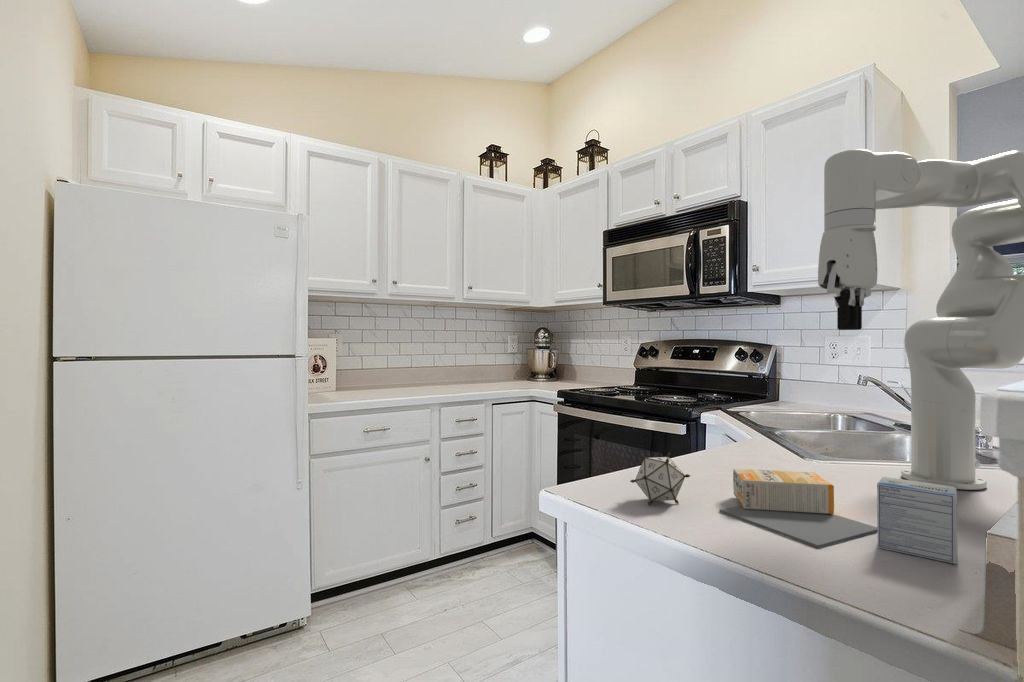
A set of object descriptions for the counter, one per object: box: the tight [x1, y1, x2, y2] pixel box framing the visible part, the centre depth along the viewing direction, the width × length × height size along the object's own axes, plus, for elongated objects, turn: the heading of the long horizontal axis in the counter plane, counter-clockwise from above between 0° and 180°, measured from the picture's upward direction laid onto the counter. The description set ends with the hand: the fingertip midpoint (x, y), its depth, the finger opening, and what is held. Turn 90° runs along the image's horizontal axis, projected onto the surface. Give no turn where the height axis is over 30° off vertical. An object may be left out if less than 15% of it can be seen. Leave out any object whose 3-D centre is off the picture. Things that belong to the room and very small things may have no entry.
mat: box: [718, 504, 878, 549], centre depth 77 cm, size 14×16×1 cm
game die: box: [629, 452, 691, 506], centre depth 86 cm, size 9×8×10 cm
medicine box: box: [876, 476, 958, 565], centre depth 66 cm, size 8×4×9 cm, turn 48°
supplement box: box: [732, 467, 835, 514], centre depth 84 cm, size 8×5×13 cm
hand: (849, 329), depth 90 cm, fingers closed
